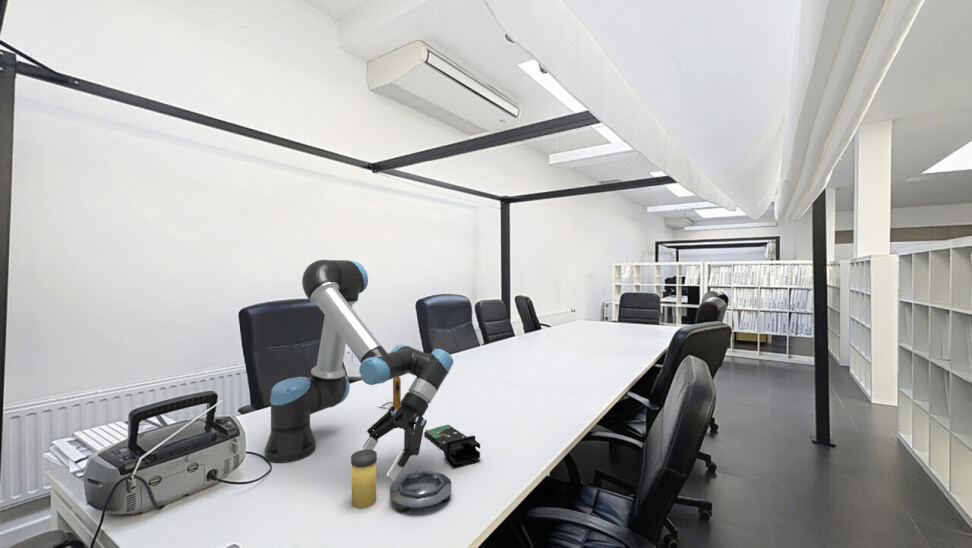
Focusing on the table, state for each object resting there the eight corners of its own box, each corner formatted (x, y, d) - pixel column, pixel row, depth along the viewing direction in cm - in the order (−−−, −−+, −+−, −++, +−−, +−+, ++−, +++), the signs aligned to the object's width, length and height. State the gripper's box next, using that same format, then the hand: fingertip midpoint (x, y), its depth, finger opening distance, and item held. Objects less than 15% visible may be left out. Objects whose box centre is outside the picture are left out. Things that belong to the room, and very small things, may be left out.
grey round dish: (396, 522, 93) (396, 506, 93) (385, 488, 108) (385, 474, 108) (459, 506, 100) (459, 491, 100) (441, 476, 114) (441, 463, 114)
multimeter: (376, 404, 179) (376, 360, 179) (398, 401, 182) (398, 358, 182) (377, 415, 165) (377, 367, 165) (401, 412, 168) (401, 365, 168)
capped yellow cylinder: (352, 511, 98) (352, 462, 98) (349, 497, 103) (350, 452, 103) (378, 505, 100) (378, 458, 100) (374, 492, 106) (375, 448, 106)
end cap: (470, 453, 130) (470, 432, 130) (481, 461, 124) (481, 440, 124) (443, 460, 125) (443, 438, 125) (452, 469, 119) (452, 447, 119)
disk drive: (469, 445, 137) (448, 431, 149) (469, 437, 137) (448, 423, 149) (442, 453, 131) (423, 437, 143) (443, 444, 131) (423, 429, 143)
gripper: (455, 414, 108) (413, 492, 97) (399, 396, 124) (357, 461, 113) (441, 399, 104) (395, 479, 93) (384, 383, 120) (339, 449, 109)
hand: (374, 469), depth 103 cm, fingers open, 13 cm apart
